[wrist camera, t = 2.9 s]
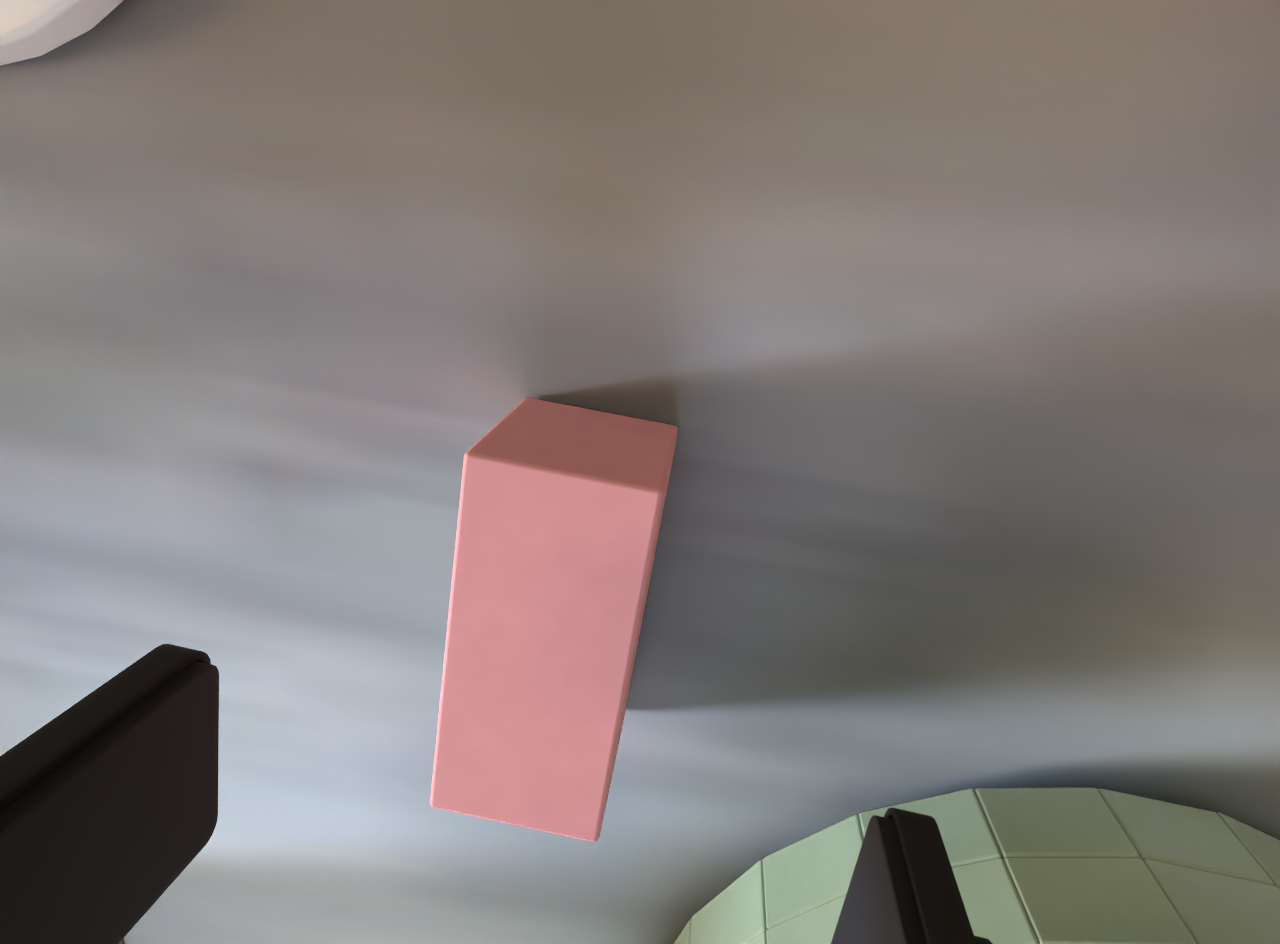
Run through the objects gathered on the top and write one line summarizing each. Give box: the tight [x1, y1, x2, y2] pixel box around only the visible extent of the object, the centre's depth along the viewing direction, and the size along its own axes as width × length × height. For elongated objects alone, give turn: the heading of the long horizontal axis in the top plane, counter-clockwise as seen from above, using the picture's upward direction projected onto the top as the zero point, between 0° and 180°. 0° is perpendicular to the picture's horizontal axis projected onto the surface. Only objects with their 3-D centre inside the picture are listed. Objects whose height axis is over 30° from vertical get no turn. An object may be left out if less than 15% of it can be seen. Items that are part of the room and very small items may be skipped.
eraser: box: [430, 398, 678, 842], centre depth 15 cm, size 7×3×4 cm, turn 171°
